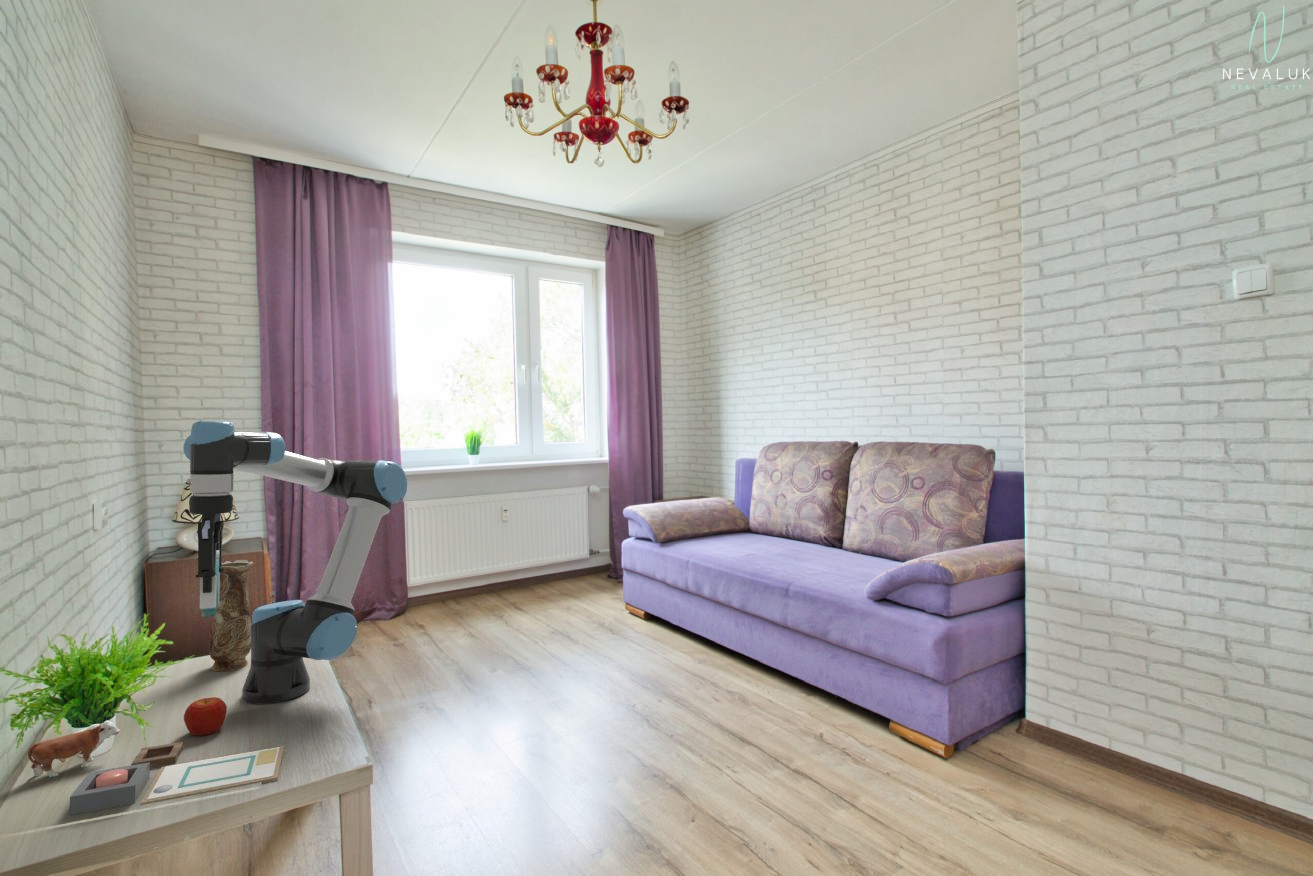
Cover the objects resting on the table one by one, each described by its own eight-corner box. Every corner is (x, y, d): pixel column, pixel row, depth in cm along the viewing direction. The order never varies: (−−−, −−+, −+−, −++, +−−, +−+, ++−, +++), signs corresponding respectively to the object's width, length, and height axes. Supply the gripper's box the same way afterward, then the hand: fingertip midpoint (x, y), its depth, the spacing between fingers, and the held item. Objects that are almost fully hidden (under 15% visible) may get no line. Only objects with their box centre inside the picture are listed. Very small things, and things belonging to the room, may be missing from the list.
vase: (238, 657, 191) (240, 558, 191) (260, 663, 186) (261, 561, 186) (200, 668, 182) (202, 563, 182) (221, 675, 177) (223, 567, 177)
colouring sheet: (161, 769, 126) (161, 765, 126) (284, 748, 135) (284, 744, 135) (140, 806, 113) (140, 801, 113) (277, 780, 122) (277, 775, 122)
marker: (219, 612, 136) (220, 549, 136) (216, 616, 133) (217, 551, 133) (201, 614, 134) (203, 550, 135) (198, 618, 132) (200, 552, 132)
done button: (100, 788, 117) (100, 772, 117) (130, 783, 118) (131, 767, 119) (91, 800, 113) (92, 783, 113) (123, 795, 115) (123, 778, 115)
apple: (189, 745, 136) (190, 708, 136) (178, 734, 141) (179, 699, 141) (231, 732, 142) (231, 697, 142) (219, 722, 147) (219, 688, 147)
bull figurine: (120, 760, 129) (121, 720, 129) (27, 786, 119) (28, 743, 119) (116, 753, 132) (117, 714, 132) (25, 778, 122) (26, 735, 122)
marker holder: (141, 757, 131) (141, 748, 131) (183, 750, 134) (183, 741, 134) (131, 773, 124) (131, 763, 124) (175, 765, 127) (175, 756, 127)
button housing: (88, 791, 118) (89, 772, 118) (149, 780, 122) (149, 762, 122) (69, 817, 110) (70, 796, 110) (135, 805, 113) (135, 785, 113)
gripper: (198, 491, 140) (196, 599, 139) (180, 497, 125) (178, 617, 125) (238, 491, 143) (236, 595, 143) (226, 496, 128) (224, 613, 128)
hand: (209, 605), depth 134 cm, fingers closed on marker, 3 cm apart
